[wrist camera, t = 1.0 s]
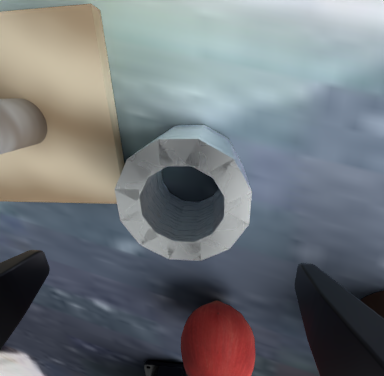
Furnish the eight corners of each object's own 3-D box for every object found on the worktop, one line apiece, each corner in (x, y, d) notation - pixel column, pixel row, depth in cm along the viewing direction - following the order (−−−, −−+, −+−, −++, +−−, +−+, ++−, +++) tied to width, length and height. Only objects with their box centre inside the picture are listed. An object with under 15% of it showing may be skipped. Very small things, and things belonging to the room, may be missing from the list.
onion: (236, 330, 22) (246, 447, 15) (181, 315, 22) (163, 425, 15) (257, 290, 20) (281, 406, 12) (195, 273, 20) (182, 379, 12)
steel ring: (238, 217, 17) (246, 263, 12) (150, 215, 18) (126, 257, 13) (243, 123, 14) (256, 137, 10) (139, 125, 15) (105, 139, 10)
